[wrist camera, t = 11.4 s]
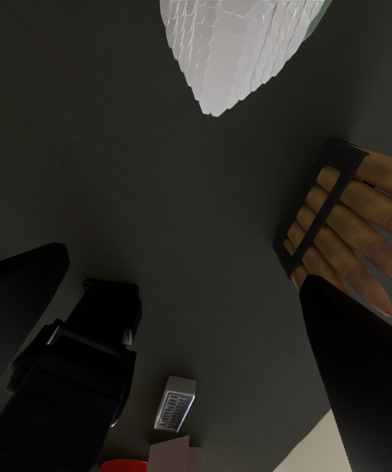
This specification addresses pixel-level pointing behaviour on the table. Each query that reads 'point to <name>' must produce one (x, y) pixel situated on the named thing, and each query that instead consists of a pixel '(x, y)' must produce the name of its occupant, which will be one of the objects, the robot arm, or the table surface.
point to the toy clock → (124, 466)
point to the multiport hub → (175, 403)
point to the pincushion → (233, 43)
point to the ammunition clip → (341, 222)
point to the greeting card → (174, 456)
